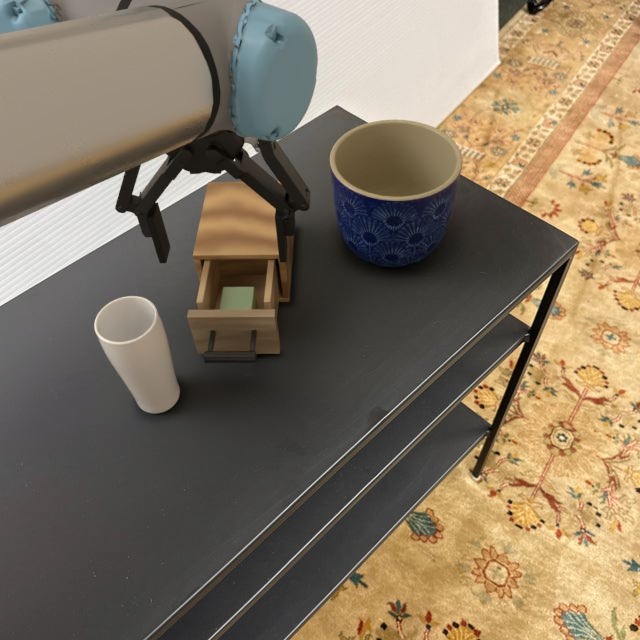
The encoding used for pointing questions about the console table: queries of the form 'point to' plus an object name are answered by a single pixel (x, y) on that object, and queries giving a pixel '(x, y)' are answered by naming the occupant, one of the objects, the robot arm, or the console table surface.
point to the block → (238, 298)
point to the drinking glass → (139, 351)
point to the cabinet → (240, 230)
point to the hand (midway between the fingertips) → (224, 254)
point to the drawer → (236, 311)
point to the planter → (394, 189)
